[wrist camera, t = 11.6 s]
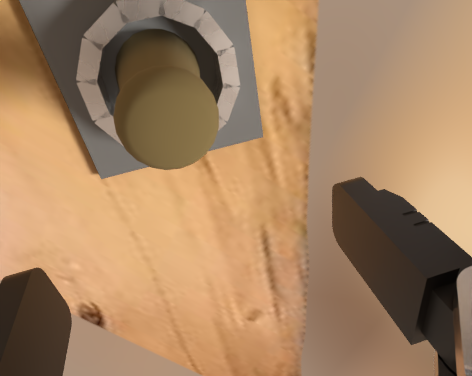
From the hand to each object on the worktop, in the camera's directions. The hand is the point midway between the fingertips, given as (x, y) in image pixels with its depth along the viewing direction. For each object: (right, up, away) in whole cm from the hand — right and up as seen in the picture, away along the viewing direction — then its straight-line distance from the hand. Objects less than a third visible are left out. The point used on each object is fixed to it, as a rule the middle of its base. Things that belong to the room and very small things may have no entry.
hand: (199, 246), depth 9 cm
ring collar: (-5, +10, +16) cm, 20 cm away
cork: (-5, +10, +16) cm, 19 cm away
